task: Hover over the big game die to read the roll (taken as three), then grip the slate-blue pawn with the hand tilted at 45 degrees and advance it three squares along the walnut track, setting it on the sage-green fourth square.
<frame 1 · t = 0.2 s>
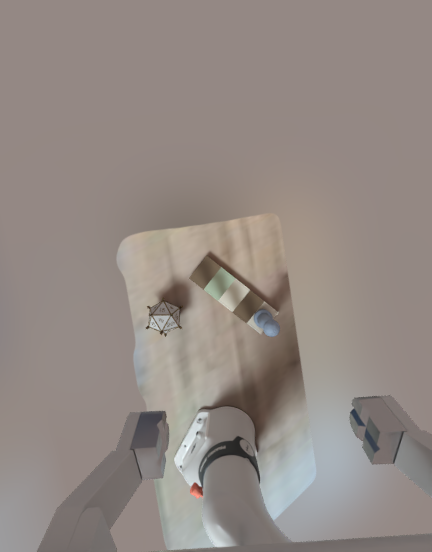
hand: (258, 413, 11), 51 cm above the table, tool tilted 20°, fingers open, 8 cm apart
game die: (167, 313, 63), on the table
track: (233, 294, 62), on the table
pawn: (262, 317, 61), point 1 cm above the table, touching track
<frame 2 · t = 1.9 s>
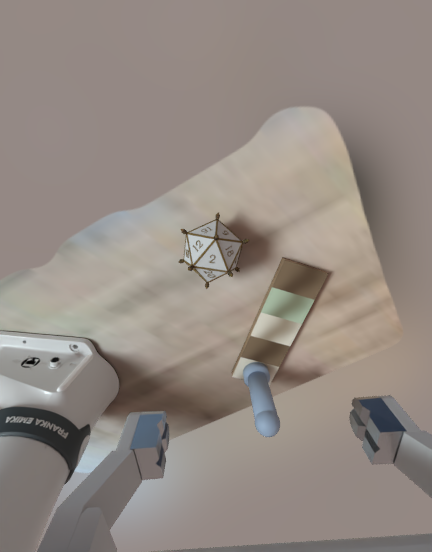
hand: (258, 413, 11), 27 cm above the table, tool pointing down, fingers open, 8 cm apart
game die: (212, 243, 36), on the table
track: (274, 325, 41), on the table
pawn: (255, 372, 43), point 1 cm above the table, touching track
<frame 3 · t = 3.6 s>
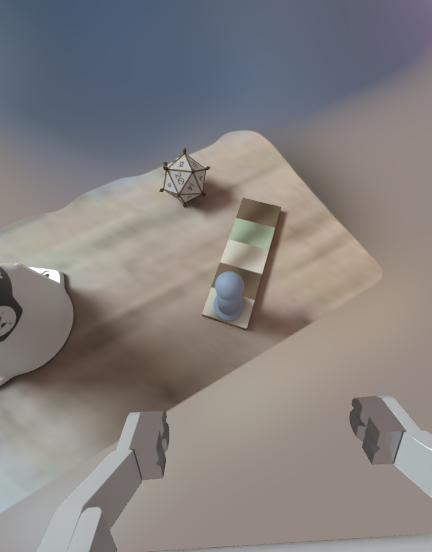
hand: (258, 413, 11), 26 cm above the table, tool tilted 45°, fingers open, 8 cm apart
game die: (187, 195, 48), on the table
track: (244, 259, 42), on the table
pawn: (228, 307, 38), point 1 cm above the table, touching track
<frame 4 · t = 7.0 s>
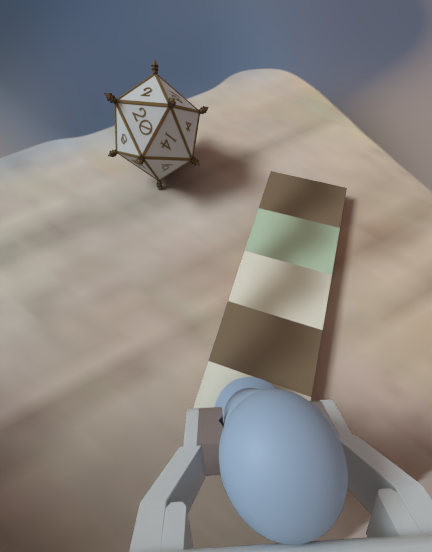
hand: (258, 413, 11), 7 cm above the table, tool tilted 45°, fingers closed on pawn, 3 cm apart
game die: (167, 169, 26), on the table
track: (277, 292, 20), on the table
pawn: (249, 415, 16), point 1 cm above the table, touching gripper, track
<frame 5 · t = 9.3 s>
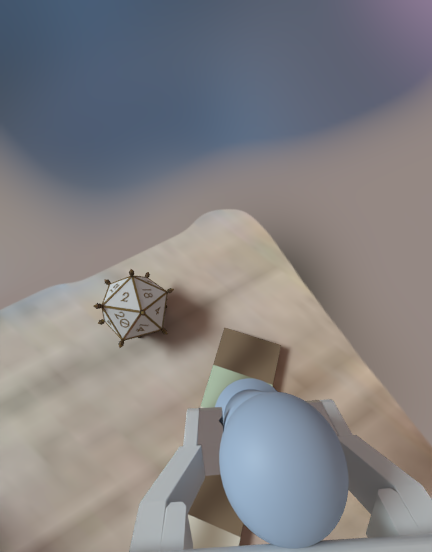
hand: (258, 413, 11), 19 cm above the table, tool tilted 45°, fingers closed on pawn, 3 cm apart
game die: (145, 315, 33), on the table
track: (225, 438, 27), on the table
pawn: (248, 416, 16), point 14 cm above the table, touching gripper
when the fingers open (8 cm above the table, at t = 11.7 s): pawn drops 1 cm, resting on track.
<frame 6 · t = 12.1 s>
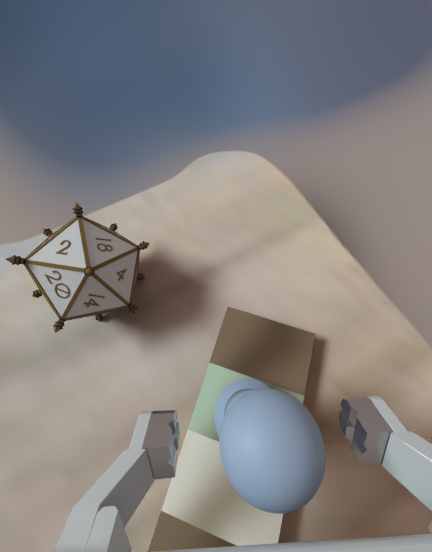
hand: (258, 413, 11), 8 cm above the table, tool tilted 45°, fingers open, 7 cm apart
game die: (112, 289, 23), on the table
track: (227, 483, 17), on the table
pawn: (247, 414, 17), point 1 cm above the table, touching track
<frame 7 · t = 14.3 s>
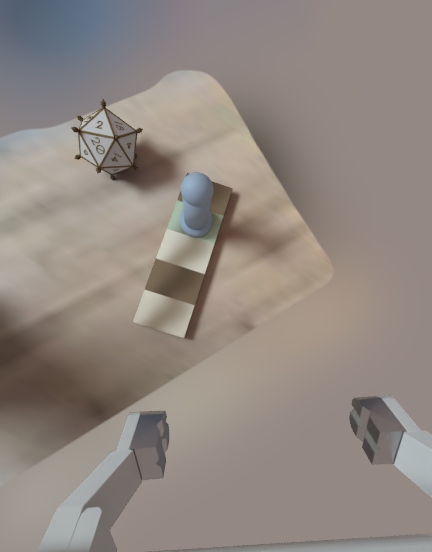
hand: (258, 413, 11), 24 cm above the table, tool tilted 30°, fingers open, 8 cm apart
game die: (117, 162, 37), on the table
track: (185, 253, 36), on the table
pawn: (195, 222, 35), point 1 cm above the table, touching track
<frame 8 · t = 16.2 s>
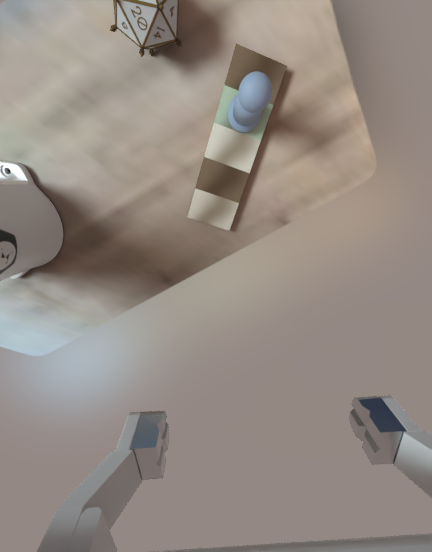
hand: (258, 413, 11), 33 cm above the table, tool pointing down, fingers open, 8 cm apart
game die: (154, 27, 32), on the table
track: (231, 149, 37), on the table
pawn: (243, 114, 34), point 1 cm above the table, touching track
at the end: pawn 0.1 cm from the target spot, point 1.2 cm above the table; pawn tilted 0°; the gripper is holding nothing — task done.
